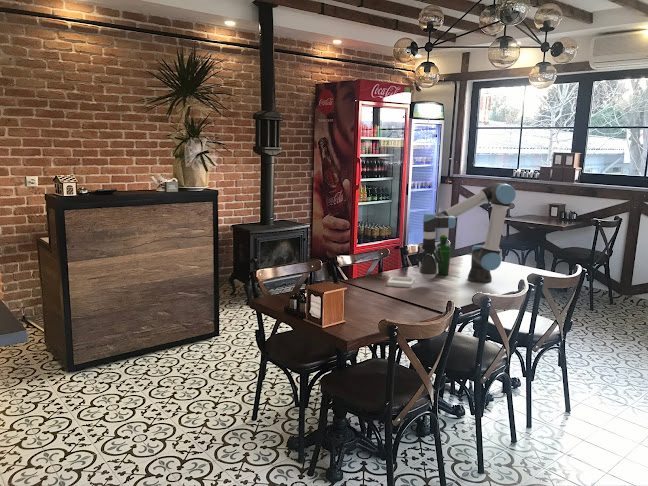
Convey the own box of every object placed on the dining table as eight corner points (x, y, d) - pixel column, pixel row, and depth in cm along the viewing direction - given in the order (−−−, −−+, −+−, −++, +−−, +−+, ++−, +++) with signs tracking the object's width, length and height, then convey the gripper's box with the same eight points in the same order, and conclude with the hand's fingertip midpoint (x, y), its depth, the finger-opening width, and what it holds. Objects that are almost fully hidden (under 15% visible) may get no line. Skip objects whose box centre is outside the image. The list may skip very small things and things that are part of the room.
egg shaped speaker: (435, 276, 334) (436, 252, 331) (437, 280, 323) (438, 256, 321) (419, 275, 335) (419, 252, 332) (420, 280, 325) (421, 256, 322)
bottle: (452, 273, 362) (454, 233, 357) (446, 277, 353) (448, 236, 348) (437, 271, 367) (439, 232, 362) (431, 274, 358) (433, 234, 353)
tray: (414, 281, 340) (414, 278, 339) (411, 287, 326) (411, 283, 325) (391, 280, 344) (391, 276, 344) (387, 285, 330) (387, 281, 330)
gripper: (448, 237, 324) (447, 272, 329) (411, 236, 331) (411, 270, 335) (447, 239, 317) (446, 275, 322) (409, 238, 324) (409, 273, 328)
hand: (428, 272), depth 328 cm, fingers closed on egg shaped speaker, 10 cm apart
